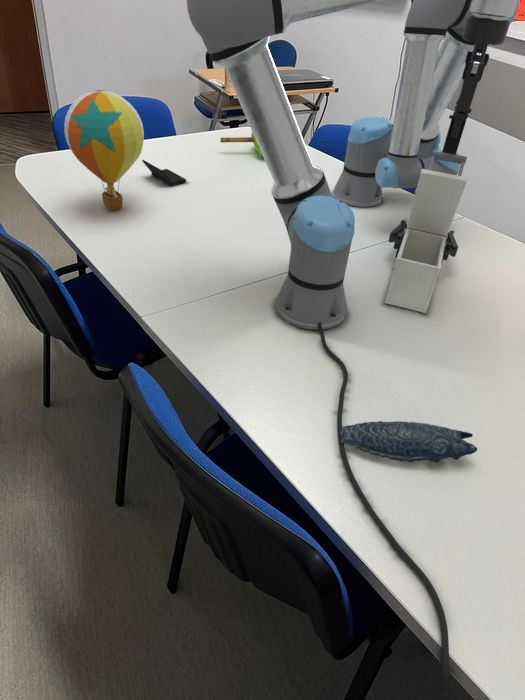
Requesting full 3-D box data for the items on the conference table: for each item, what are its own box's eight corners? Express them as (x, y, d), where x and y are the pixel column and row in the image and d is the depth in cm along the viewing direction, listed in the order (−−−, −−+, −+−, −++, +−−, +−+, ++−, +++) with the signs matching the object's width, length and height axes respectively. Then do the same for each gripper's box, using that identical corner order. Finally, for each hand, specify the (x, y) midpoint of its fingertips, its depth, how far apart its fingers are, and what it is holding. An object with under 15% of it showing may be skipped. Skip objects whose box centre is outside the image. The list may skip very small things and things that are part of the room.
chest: (426, 313, 115) (440, 268, 108) (384, 302, 117) (396, 258, 110) (432, 278, 128) (446, 236, 121) (395, 269, 130) (406, 228, 123)
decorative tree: (217, 117, 188) (297, 117, 193) (217, 147, 194) (295, 146, 200) (224, 132, 174) (310, 131, 180) (224, 163, 181) (307, 162, 186)
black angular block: (190, 175, 164) (173, 153, 156) (179, 193, 163) (161, 172, 155) (166, 170, 170) (147, 148, 162) (155, 188, 169) (136, 167, 161)
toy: (64, 203, 145) (44, 85, 127) (127, 189, 156) (117, 79, 137) (97, 229, 134) (80, 105, 116) (162, 213, 145) (156, 96, 126)
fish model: (475, 475, 80) (486, 454, 77) (339, 458, 81) (344, 436, 78) (466, 443, 85) (476, 422, 82) (339, 427, 86) (344, 405, 83)
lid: (466, 181, 104) (474, 149, 107) (420, 172, 106) (429, 141, 110) (446, 236, 121) (454, 207, 124) (406, 227, 123) (415, 199, 126)
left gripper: (469, 10, 100) (435, 135, 115) (466, 18, 87) (427, 158, 102) (510, 15, 99) (469, 141, 113) (512, 24, 85) (466, 165, 100)
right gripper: (466, 243, 139) (461, 282, 122) (385, 225, 144) (370, 261, 127) (475, 217, 135) (471, 254, 118) (391, 199, 139) (376, 233, 123)
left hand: (449, 149), depth 107 cm, fingers open, 5 cm apart
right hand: (419, 257), depth 122 cm, fingers closed on chest, 9 cm apart
